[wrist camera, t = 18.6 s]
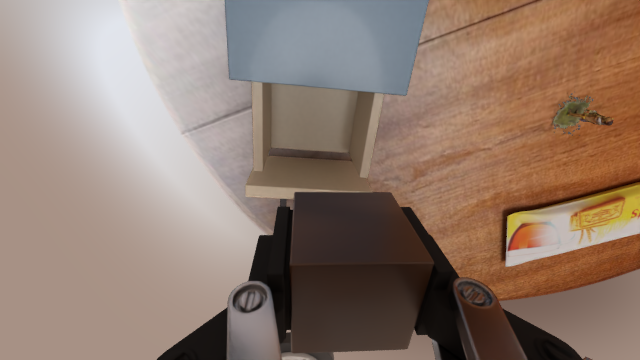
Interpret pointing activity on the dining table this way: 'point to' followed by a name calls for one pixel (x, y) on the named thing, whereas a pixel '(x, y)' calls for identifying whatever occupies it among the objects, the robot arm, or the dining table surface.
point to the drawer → (311, 139)
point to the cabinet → (325, 42)
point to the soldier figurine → (578, 115)
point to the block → (354, 273)
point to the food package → (573, 224)
